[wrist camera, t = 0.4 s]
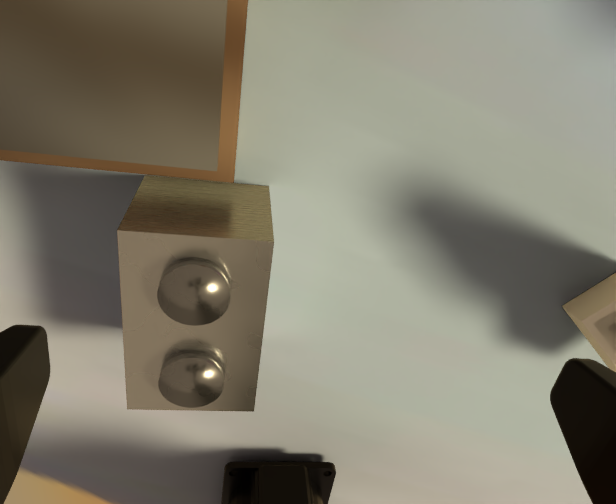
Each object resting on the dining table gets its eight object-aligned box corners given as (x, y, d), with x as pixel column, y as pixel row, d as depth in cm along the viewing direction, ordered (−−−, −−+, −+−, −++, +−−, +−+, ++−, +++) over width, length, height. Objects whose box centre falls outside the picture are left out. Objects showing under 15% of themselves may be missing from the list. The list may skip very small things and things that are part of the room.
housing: (253, 333, 24) (253, 423, 20) (149, 329, 24) (124, 421, 19) (268, 184, 21) (274, 250, 16) (145, 173, 20) (112, 239, 15)
